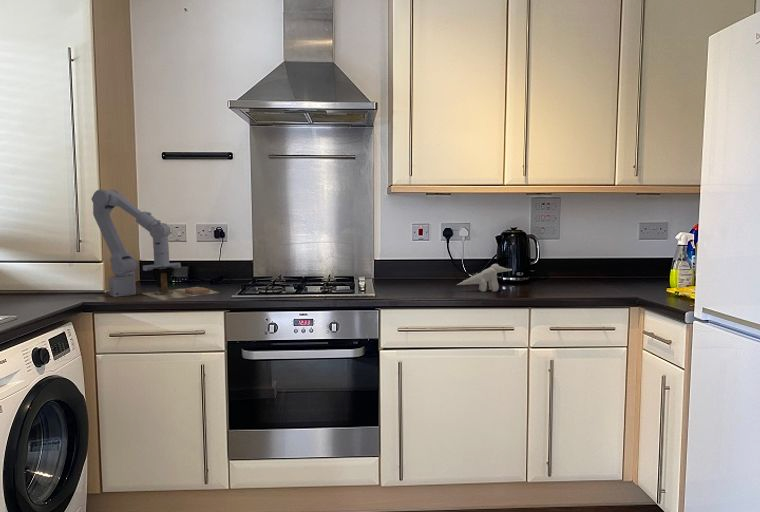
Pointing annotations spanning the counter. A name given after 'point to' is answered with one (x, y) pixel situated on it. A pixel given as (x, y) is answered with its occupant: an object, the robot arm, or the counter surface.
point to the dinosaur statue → (486, 278)
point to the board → (176, 294)
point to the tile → (197, 291)
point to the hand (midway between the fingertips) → (163, 286)
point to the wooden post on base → (163, 286)
